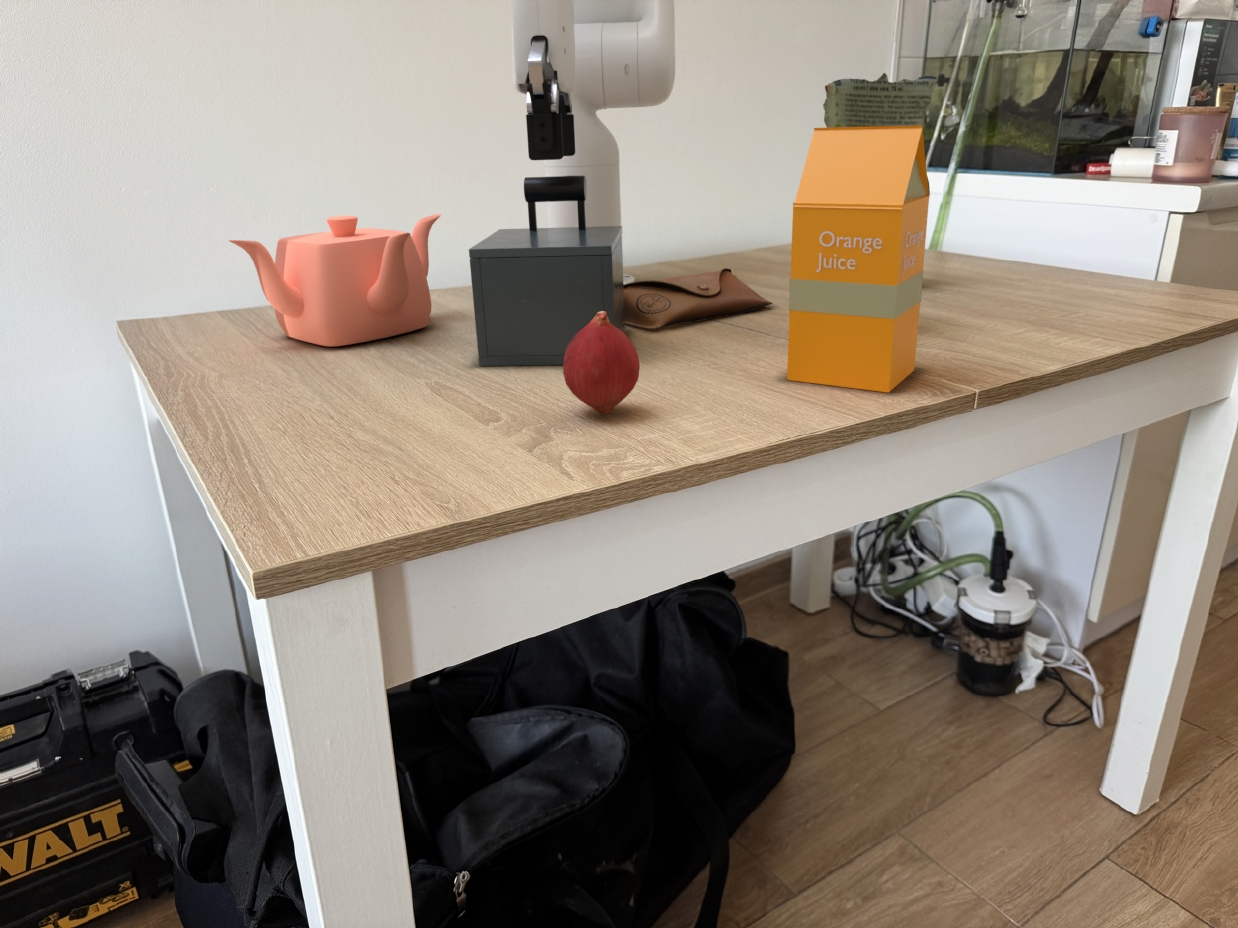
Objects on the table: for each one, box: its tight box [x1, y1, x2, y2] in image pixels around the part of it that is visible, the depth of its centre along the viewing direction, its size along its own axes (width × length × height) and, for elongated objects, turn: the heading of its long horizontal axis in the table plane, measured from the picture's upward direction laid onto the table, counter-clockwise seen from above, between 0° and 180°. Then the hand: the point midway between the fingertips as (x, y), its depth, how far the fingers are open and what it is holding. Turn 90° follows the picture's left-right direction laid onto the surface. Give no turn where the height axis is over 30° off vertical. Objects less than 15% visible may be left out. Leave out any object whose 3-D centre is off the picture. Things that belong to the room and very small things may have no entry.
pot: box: [228, 213, 442, 347], centre depth 98 cm, size 18×17×12 cm
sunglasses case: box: [623, 267, 773, 330], centre depth 103 cm, size 18×7×7 cm
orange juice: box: [786, 126, 930, 394], centre depth 75 cm, size 8×9×20 cm
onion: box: [562, 311, 641, 415], centre depth 69 cm, size 6×6×8 cm
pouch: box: [822, 72, 939, 198], centre depth 111 cm, size 11×12×25 cm
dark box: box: [469, 235, 626, 367], centre depth 89 cm, size 14×13×10 cm
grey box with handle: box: [468, 176, 623, 259], centre depth 87 cm, size 15×13×6 cm
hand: (553, 157), depth 89 cm, fingers open, 9 cm apart
